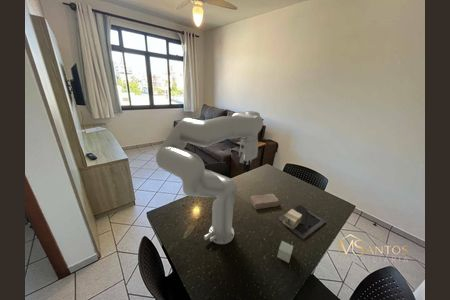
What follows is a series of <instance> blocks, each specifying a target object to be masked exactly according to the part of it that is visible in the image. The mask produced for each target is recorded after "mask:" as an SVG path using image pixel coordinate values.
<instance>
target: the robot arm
mask: <svg viewBox="0 0 450 300" xmlns="http://www.w3.org/2000/svg"><path fill="white" fill-rule="evenodd" d="M263 125H264V121H263V118H262V116H261V114H260V113H259V112H258V111H255V110H253V111H252V110H251V111H250V110H249V111H248V110H247V111H245V112H241V111H240V112H235V113H233V114H232V115H231V116H224V115H222V116H218V117H215V118H210V119H204V120H202V119H198V118H197V119H196V118H191V117H185V118H183V119H181V120H180V121H179V122H178V123H176V125H175V126H174V127H173V128H172V129H171V131H170V133H169V134H168V135H167V137H166V138H165V140H164V141H163V142H162V144H161V145H160V147H159V148H158V150H157V153H156V156H155V160H156V162H155V163H156V164H157V166H158V167H159V168H160V169H161V170H163V171H165V172H168V173H170V174H171V175H173V176H175V177H177V178H179V179H180V180H181V182H182V191H183V193H184V195H186V196H190V197H198V198H199V197H202V198H203V197H204V198H214V197H215V198H216V199H214V200H213V202H212V211H211V213H212V214H211V215H212V216H211V218H212V219H211V226H210V228H209V229H208V233H207V234H205V235H203V239H204V240H205V241H207V240H208V239H209V241H210V242H212V243H215V244H217V245H226V244H229V243H230V242H232V240H233V239H234V238H235V229H234V228H233V213H234V204H235V203H234V202H235V198H236V197H235V196H236V194H237V191H238V190H237V189H238V185H237V183H236V182H235V180H233V179H232V178H230V177H228V176H226V175H222V174H221V173H218V172H215V171H213V170H209V169H206V167H205V163H204V161H203V159H202V157H200V155H198V154H196V153H194V152H193V151H190V150H187V149H185V148H186V147H187V144H191V145H194V146H197V147H203V148H206V147H210V146H212V145H215V144H218V143H219V142H224V141H225V140H228V139H240V138H241V141H240V144H239V150H238V151H239V152H238V158H239V163H240V164H243V166H242V170H243V171H245V172H250V170H251V164H252V160H254V159H256V158H257V157H258V154H259V138H258V136H259V133H260V132H261V130H262V129H263Z"/></svg>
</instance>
